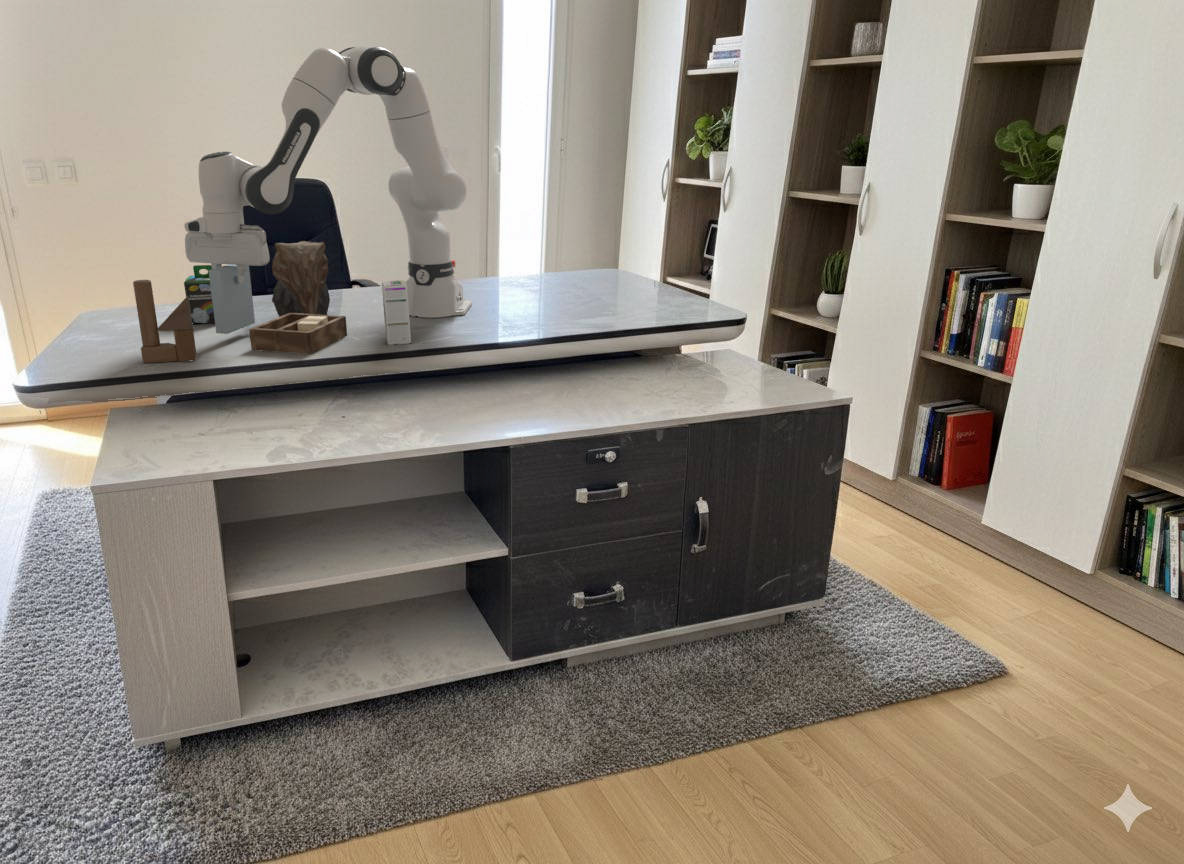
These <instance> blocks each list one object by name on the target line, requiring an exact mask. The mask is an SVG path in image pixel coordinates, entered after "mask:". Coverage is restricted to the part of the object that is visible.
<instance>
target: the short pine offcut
mask: <svg viewBox="0 0 1184 864" xmlns="http://www.w3.org/2000/svg"><path fill="white" fill-rule="evenodd" d="M327 322H328V316H308V317H307V318H305V319H303V320H302V321H300V322H299V323H297V325H298V331H306V332H307V331H309V330H311V329H314V328H316V327H318V326H320V325H322V324H325V323H327Z"/></svg>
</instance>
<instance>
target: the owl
mask: <svg viewBox="0 0 1184 864" xmlns="http://www.w3.org/2000/svg"><path fill="white" fill-rule="evenodd" d="M274 248H275V250H276V252H275V255H274V257H273V259H272V265H271V266H272V267H271V271H272V275H273V277H275V279H276V281H277V283H276V285H275V286H274V288H273V295H272V298H271V302H272V303H273V304H274V305H273V306H274V308H275V310H276V312H277V313H276V314H277V315H278V317H280V316H283V315H285V314H288V313H301V314H317V315H328V311H329V307H330V302H331V301H330V300H331V299H330V293H329V289H328V287H327V276H328V274H329V264H328V263H329V260H328V258H327V256H326V253H325V251H326V244H325V242H324V241H320V242H316V241H314V242H312V241H309V240H308V241H306V240H301V241H299V242H292V243H285V242H276V243H274Z"/></svg>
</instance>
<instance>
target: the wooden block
mask: <svg viewBox="0 0 1184 864" xmlns="http://www.w3.org/2000/svg"><path fill="white" fill-rule="evenodd" d="M132 285H133V291H134V299H135V303H136V305H135V306H136V310H137V318H138V324H139V330H140V336H141V337H140V338H141V343H142V346H141V348H140V353H141V359H142V363H143V364H152V363H155V362H157V363H171V362H174V361H176V362H180V361H181V362H190V361H189V360H194V361H195V360H196V359H197V349H196V347H197V346H196V340H195V332H194V328H193V325H194V324H192V318H191V310H190V303H189V296H187V297H186V296H185V298H184V299H183V300H182V301H181V302H180V303H179V304H178V306H177V307H175V309H174V310H172V312H171V313H170V314H169V315H168V317H167V318H166V319H165V320H164V321H163V322H162V323H161V324H160V325H159V326H158V321H157V314H156V313H157V312H156V305H155V297H154V291H153V285H152V280H149V279H136V280H134V281H133V283H132ZM164 331H165V332H167V331H168V332H169V331H173V335H174V343H172V342H171V343H170V342H163V343H162V342H161V339H160V334H159V332H164Z"/></svg>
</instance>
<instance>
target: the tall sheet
mask: <svg viewBox="0 0 1184 864" xmlns="http://www.w3.org/2000/svg"><path fill="white" fill-rule="evenodd" d="M238 272H239V269H237V265H234V264H225V265H222V267H218V268H215V269H211V270H209V278H210V286H211V294H212V302H213V310H214V319H215V323H214V325H215V333H216V334H221V335H222V334H224V335H228V334H231V333H233V332H236V331H239V330H241V329H244V328H247V327H248V326H249V327H250V326H251V325H254V324H256V321H255V320H256V318H255V310H254V301H253V293H252V291H253V290H252V283H251V273H250V265H247V269H246V272H245V274H244V275H243V277H244V283H241V284H240V283H235V282H234V280H235V279H234V276H236V275H237V274H238Z"/></svg>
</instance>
